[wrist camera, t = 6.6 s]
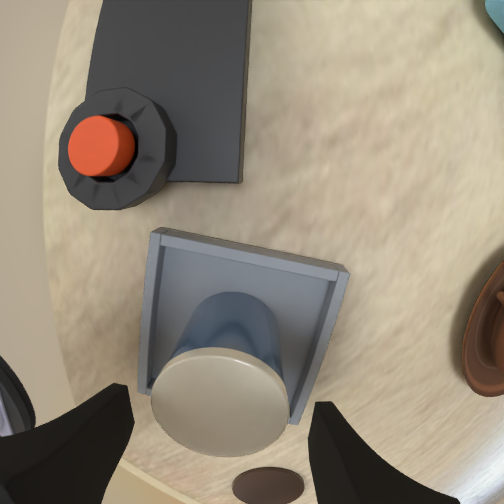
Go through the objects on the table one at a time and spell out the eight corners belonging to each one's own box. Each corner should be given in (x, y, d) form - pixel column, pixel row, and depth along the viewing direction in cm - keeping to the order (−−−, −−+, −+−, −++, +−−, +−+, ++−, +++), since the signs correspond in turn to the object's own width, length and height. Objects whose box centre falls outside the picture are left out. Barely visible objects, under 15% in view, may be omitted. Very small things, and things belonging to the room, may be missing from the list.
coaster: (227, 499, 22) (227, 502, 22) (239, 462, 21) (239, 466, 21) (292, 505, 23) (292, 509, 22) (313, 470, 21) (314, 474, 21)
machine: (241, 205, 17) (234, 213, 13) (100, 202, 17) (57, 210, 13) (257, -71, 13) (255, -113, 8) (139, -59, 13) (118, -94, 9)
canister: (181, 362, 19) (148, 441, 12) (193, 280, 17) (153, 340, 11) (269, 380, 19) (271, 466, 12) (291, 300, 17) (307, 371, 11)
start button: (134, 175, 13) (117, 175, 11) (87, 176, 13) (66, 177, 11) (137, 119, 12) (120, 112, 11) (89, 123, 12) (69, 118, 11)
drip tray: (145, 378, 20) (137, 392, 18) (160, 226, 17) (150, 231, 16) (295, 409, 20) (298, 425, 18) (342, 264, 17) (350, 273, 16)
